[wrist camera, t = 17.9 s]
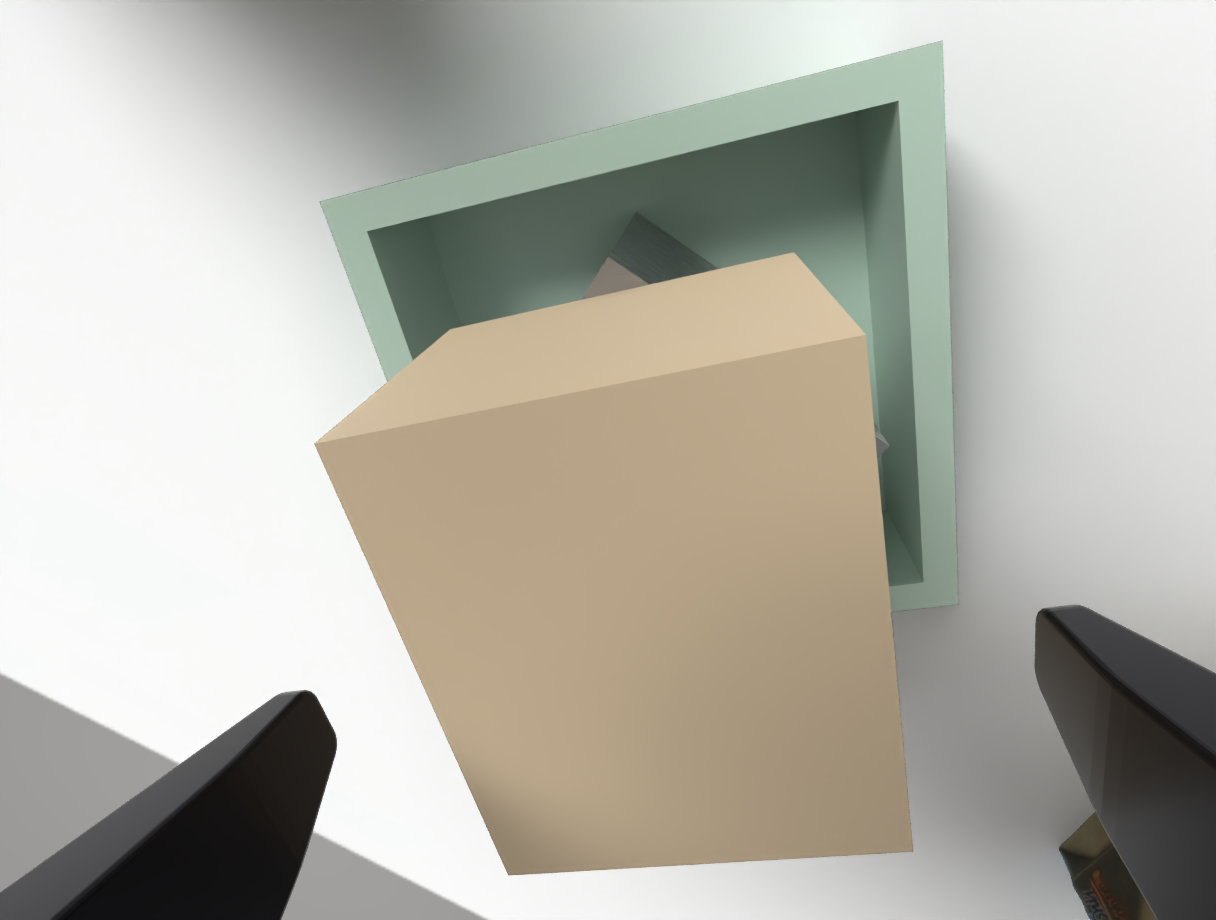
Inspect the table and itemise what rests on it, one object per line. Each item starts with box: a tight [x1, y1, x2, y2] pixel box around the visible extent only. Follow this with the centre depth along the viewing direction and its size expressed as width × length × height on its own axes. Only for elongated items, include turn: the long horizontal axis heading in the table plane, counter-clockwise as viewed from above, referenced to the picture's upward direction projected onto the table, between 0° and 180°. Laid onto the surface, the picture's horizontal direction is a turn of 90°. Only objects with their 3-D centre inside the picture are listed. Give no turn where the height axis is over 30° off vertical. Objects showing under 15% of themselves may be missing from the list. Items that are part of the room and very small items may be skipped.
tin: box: [581, 212, 889, 459], centre depth 16 cm, size 6×6×7 cm
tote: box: [320, 40, 958, 612], centre depth 18 cm, size 13×13×4 cm
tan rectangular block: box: [314, 252, 913, 875], centre depth 11 cm, size 8×6×5 cm
